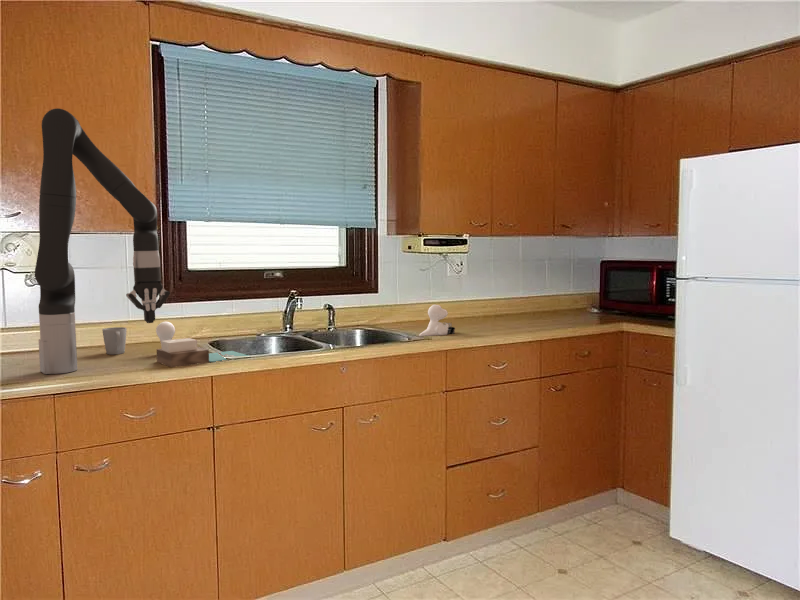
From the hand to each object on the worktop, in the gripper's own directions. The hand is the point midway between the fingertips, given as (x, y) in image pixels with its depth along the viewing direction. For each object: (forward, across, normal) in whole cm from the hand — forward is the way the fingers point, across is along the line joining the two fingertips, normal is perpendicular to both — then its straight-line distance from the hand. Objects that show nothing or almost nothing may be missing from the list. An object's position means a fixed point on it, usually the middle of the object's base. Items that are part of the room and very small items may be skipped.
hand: (150, 322), depth 193 cm
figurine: (+15, +113, -10) cm, 114 cm away
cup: (+13, -1, +30) cm, 33 cm away
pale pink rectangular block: (+10, +9, 0) cm, 13 cm away
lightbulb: (+14, +12, +19) cm, 26 cm away
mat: (+14, +23, 0) cm, 27 cm away
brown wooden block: (+14, +10, 0) cm, 17 cm away
